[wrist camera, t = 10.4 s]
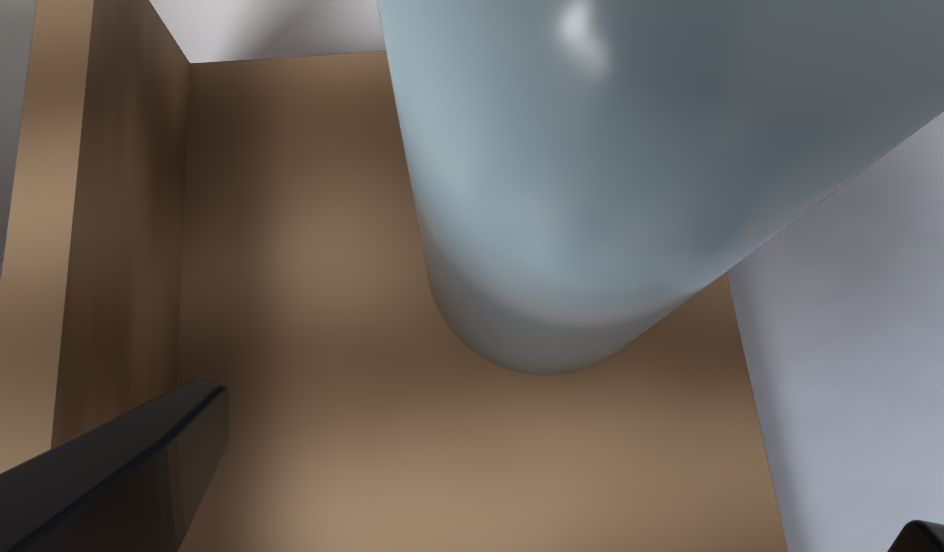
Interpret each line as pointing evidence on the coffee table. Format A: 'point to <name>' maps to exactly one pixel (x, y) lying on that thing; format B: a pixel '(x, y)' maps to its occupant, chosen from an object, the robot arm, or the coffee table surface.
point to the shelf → (328, 322)
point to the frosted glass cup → (633, 148)
